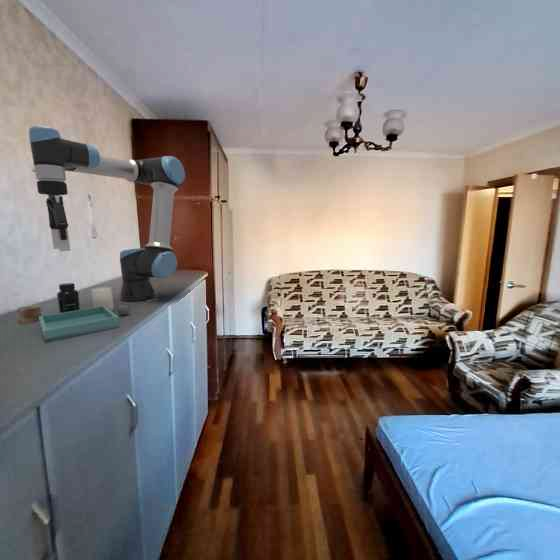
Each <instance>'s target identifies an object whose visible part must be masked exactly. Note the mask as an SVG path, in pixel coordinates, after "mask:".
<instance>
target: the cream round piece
mask: <svg viewBox="0 0 560 560" xmlns="http://www.w3.org/2000/svg"><path fill="white" fill-rule="evenodd" d="M112 289H113V288H112V287H111V286H100V287H96V288H92V289H90V290H91V297H92V299H91V300H92V305H93V307H99V306H106V307H107V308H108V309H109V310H111V311H112V312H113V311H114V310H115V308H114V307H115V305H114V298H113V290H112Z"/></svg>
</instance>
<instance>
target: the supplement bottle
mask: <svg viewBox="0 0 560 560" xmlns="http://www.w3.org/2000/svg"><path fill="white" fill-rule="evenodd" d="M58 289H59V290H60V291H57V294H56V300H57V306H58V313H63V312H69V311H75V310H81V302H80V294H79V291H78V290H77V289H76V286H75V283H74V282H69V283H68V282H67V283H60V284H59V285H58Z"/></svg>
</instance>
